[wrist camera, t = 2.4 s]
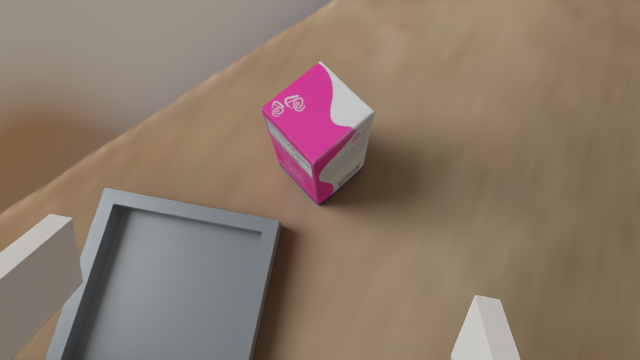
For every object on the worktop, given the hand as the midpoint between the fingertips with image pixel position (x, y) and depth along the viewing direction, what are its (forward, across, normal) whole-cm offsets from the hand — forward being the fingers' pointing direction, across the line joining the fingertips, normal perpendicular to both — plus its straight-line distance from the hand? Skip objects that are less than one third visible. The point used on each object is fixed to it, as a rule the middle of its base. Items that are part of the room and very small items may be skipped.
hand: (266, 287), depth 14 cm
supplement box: (+26, 0, +8) cm, 27 cm away
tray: (+16, +10, +18) cm, 26 cm away
